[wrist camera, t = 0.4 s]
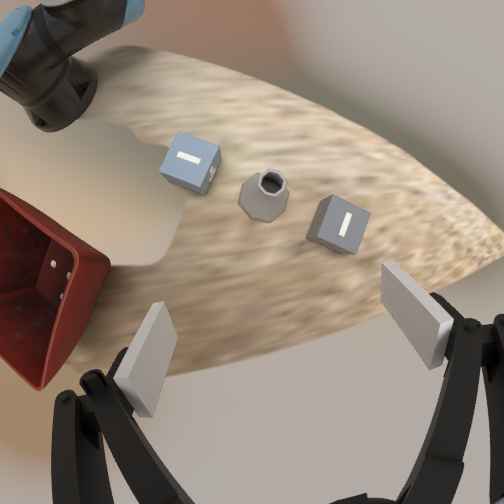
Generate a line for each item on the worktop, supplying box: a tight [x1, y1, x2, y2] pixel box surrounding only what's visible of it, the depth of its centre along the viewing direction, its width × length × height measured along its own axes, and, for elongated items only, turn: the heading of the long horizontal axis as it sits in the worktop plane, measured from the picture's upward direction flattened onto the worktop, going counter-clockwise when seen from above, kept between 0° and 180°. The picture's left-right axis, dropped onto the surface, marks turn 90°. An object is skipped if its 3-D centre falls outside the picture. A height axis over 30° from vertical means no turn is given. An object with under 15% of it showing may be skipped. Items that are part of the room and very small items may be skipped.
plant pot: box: [0, 188, 111, 391], centre depth 31 cm, size 19×19×17 cm
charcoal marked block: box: [306, 194, 371, 254], centre depth 39 cm, size 6×6×6 cm
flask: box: [238, 169, 289, 223], centre depth 36 cm, size 7×7×10 cm
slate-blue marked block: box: [159, 131, 221, 195], centre depth 38 cm, size 6×6×6 cm
